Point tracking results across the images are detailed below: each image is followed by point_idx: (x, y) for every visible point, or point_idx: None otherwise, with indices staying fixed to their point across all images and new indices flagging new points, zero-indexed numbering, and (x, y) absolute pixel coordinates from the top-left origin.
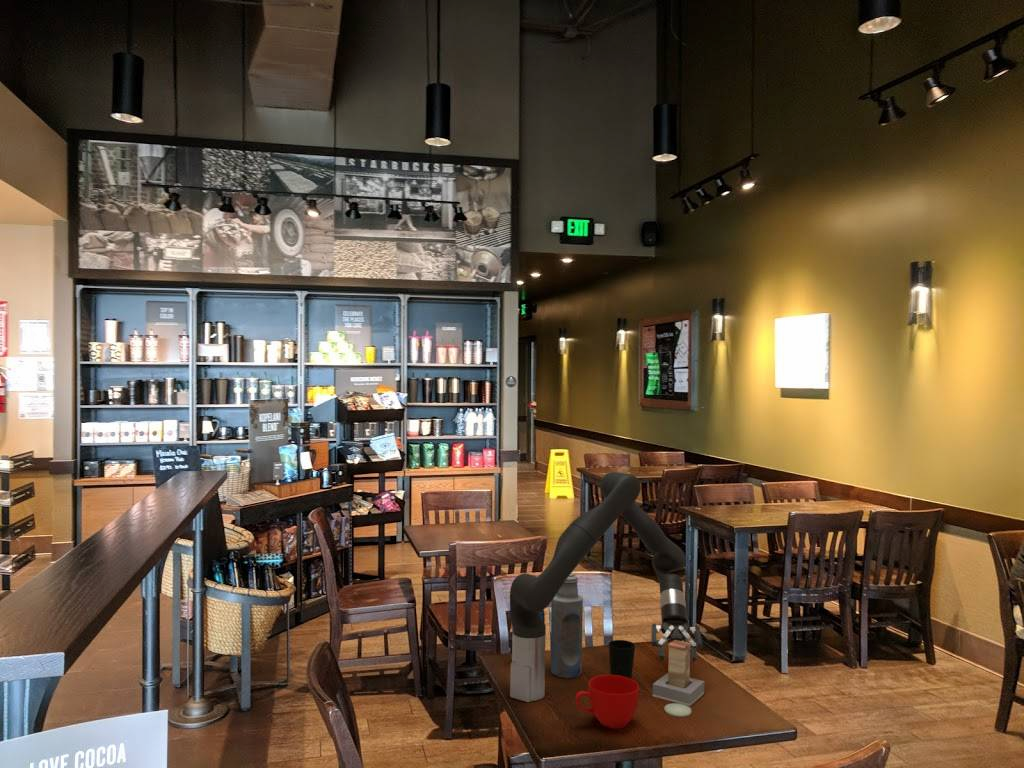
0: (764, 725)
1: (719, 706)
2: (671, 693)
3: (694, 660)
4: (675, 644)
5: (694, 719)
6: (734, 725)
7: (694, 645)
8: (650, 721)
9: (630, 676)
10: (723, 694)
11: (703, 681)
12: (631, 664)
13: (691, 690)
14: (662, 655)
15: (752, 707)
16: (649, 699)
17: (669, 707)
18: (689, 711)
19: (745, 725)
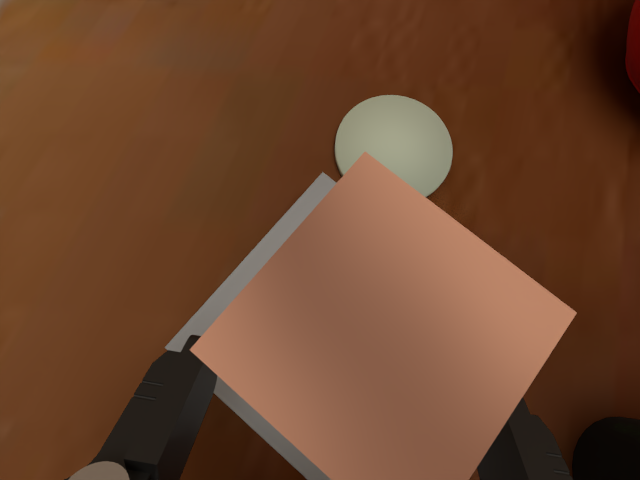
0: (81, 15)
1: (181, 188)
2: None
3: None
4: (462, 296)
5: (344, 78)
6: (202, 23)
7: (100, 473)
8: (527, 73)
9: (632, 449)
10: (90, 325)
11: (173, 342)
12: None
13: (300, 212)
14: (522, 401)
15: (29, 169)
16: None
17: (428, 163)
18: (349, 120)
19: (158, 20)
